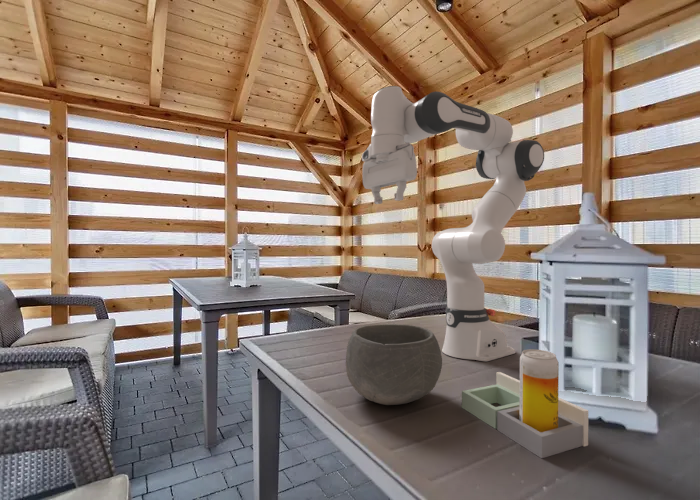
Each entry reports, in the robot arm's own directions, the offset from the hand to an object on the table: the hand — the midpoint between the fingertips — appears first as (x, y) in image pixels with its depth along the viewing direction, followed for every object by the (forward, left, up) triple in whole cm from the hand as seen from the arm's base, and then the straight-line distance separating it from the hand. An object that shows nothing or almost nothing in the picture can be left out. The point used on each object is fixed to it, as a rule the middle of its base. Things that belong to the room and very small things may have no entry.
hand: (388, 202), depth 98 cm
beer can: (-9, +40, -46) cm, 61 cm away
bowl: (+7, +16, -46) cm, 49 cm away
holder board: (-9, +35, -45) cm, 58 cm away
